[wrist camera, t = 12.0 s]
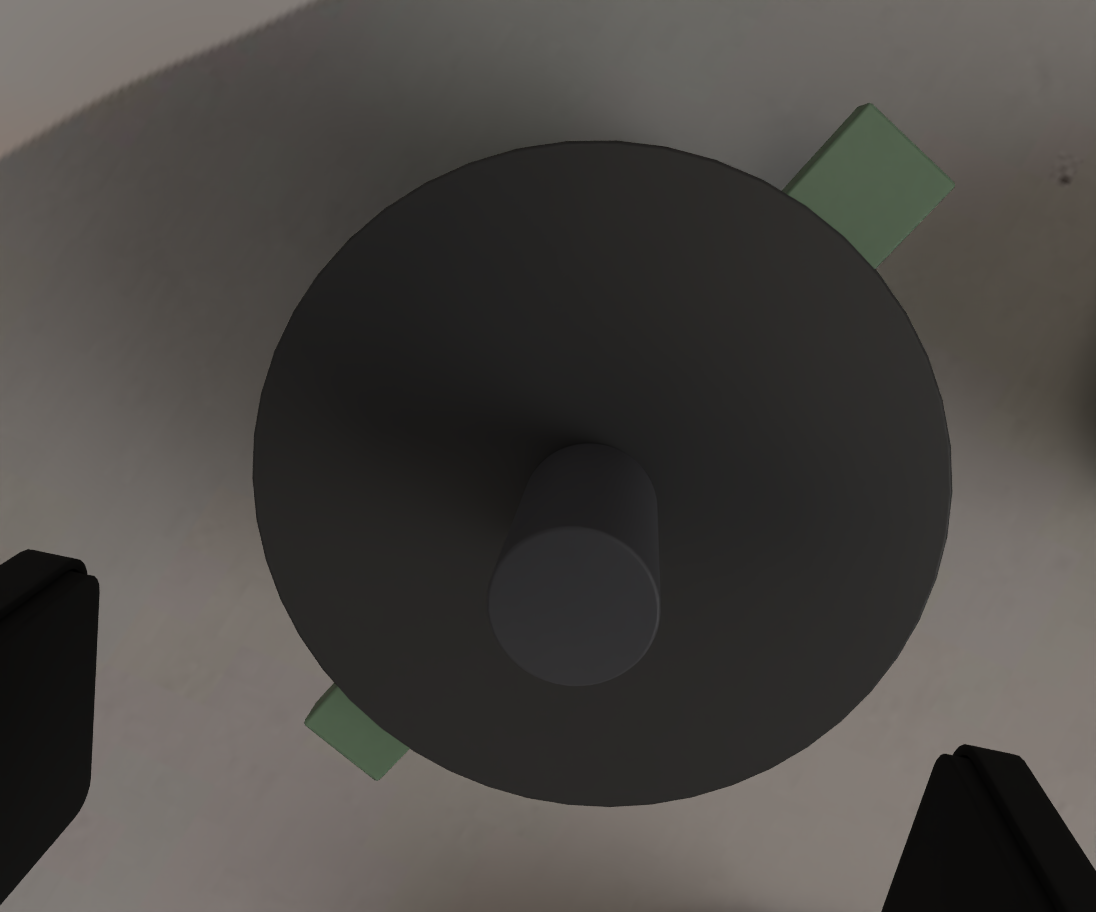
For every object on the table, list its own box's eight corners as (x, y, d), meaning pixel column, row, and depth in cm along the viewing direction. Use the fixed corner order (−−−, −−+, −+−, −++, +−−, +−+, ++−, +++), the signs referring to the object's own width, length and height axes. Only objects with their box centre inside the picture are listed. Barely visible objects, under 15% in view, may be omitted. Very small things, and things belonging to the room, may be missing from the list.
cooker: (259, 473, 32) (103, 592, 23) (652, -16, 27) (656, -116, 17) (571, 729, 33) (543, 937, 24) (1001, 313, 28) (1171, 378, 19)
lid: (150, 507, 23) (-26, 625, 17) (559, -22, 19) (518, -115, 13) (618, 882, 24) (609, 1112, 18) (1086, 469, 20) (1269, 590, 14)
